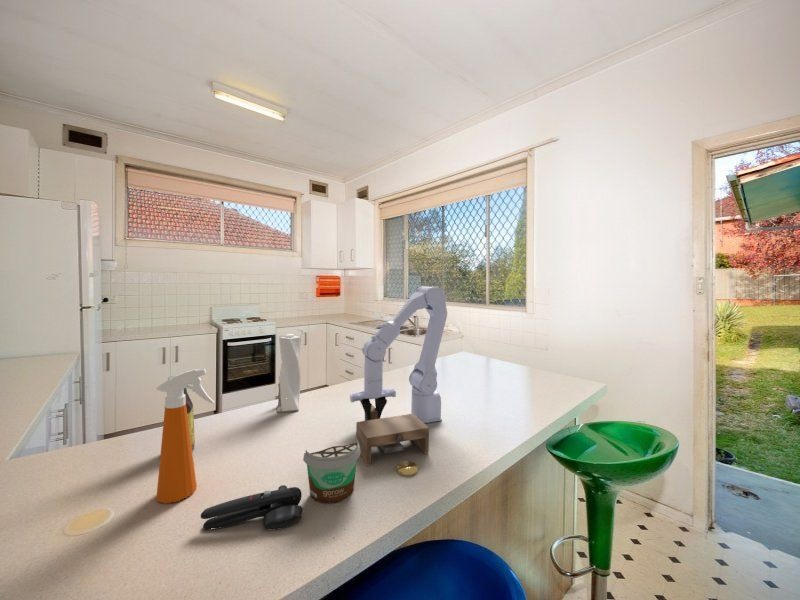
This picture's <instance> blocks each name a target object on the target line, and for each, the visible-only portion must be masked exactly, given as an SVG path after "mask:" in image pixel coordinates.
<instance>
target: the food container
mask: <svg viewBox="0 0 800 600" xmlns="http://www.w3.org/2000/svg"><path fill="white" fill-rule="evenodd" d="M360 453H361V451H360V446H359V443H358V440H357V439H355V443H350V444H346V445H336V446H331V447H328V448H325V449H322V450H319V451H315V452H309V451H308V450H307V449H305V452H304V454H303V459H302V460H303V462H304V463H305V464H306V467H307V468H306V469H307V479H308V487H309V495H310V497H311V499H312V500H314V501H315V502H318V503H321V504H329V505H331V504H338V503H340V502H343V501H345V500H347V499H348V498H349V497H350V496H351V495H352V494H353V492H354V490H355V478H356V471H357V462H358V459H359V458H360V456H361V455H360Z"/></svg>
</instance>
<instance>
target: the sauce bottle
mask: <svg viewBox="0 0 800 600" xmlns="http://www.w3.org/2000/svg"><path fill="white" fill-rule="evenodd" d="M174 376H175V375H172V376H170V377H168V378H167V380H168V379H170V378H172V377H174ZM184 394H185V396H186V408H187V416H188V424H189V431H190V439H191V446H192V451H193V450H194V449H195V442H196V441H195V439H196V437H195V422H194V421H195V418H194V404H193V402H192V399H191V398H190V396H189V393H188V388H185V389H184Z"/></svg>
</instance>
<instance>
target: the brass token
mask: <svg viewBox="0 0 800 600" xmlns="http://www.w3.org/2000/svg"><path fill="white" fill-rule="evenodd" d="M418 471H419V470H418V465H417V463H416V462H413V461H412V460H411V461H410V460H404V461H400V462H398V463H397V465H396V472H397V474H398V475H400V476H403V477H413V476H415V475H416V474H417V473H418Z"/></svg>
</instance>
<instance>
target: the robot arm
mask: <svg viewBox="0 0 800 600" xmlns="http://www.w3.org/2000/svg"><path fill="white" fill-rule="evenodd" d="M446 299H447V295H446V293H444V291H443V290H442V288H441V287H439V286H426V285H422V286H420V287H418V288H417V289H416V290H415V291H414V292H413V293H412V294H411V295H410V297H409V299H408V300H407V301H406V303H405V304H404V305H403V306H402V307H401V309H400V310H399V311H398V312H397V314H396V315H395V317H394V318H393V319H392V320H388V321H387V320H386V321H385V323H384V322H382V323H381V324H380V328H379V330H378V331H377V332H376V333H375V334H374V335H371V337H370V339H368V340H367V341H365V343H364V344H363V348H361V351H362V354H363V355H364V365H363V367H364V369H363V370H364V372H363V374H364V376H363V377H364V380H363V386H364V387H363V391H359V392H355V393H350V394H349V401H350V403H355V402H358V401H359V402H360V404H361V406H362V409H363V411H364V417H365V416H366V421H367V420H371V415H370V413H371V405H373V404H372V402H371V401H370V400H374V403H375V404H374V407H375V408H376V409H377V410H378V419H381V416H382V414H383V410H384V408H385V407H386V405H387V402H388V399H386V398H391V397H392V398H396V397H397V391H396V390H395V389H394V388H392V389H383V384H384V383H383V379H384V378H383V374H384V373H383V372H384V367H383V366H384V363H383V359H384V358H385V357H386V353H387V349H388V348H389V347H390V346H391V345H392V344H393V342H395V340H396V339H397V337H399V335H400V334H401V327H402V326H403V325H404V324H405V323H407V321H408V320H409V319H410V318H411V317H412V316H413V315H414V314H415V312H417V311H418V310H423V309H425V311H426V312H427V313H428V315H429V320H428V324H427V328H426V331H425V336H424V339H423V340H424V341H423V344H422V348H421V352H420V357H419V360H418V361H417V363H415V364H414V367H413V370H412V371H411V372H410V374H409V378H408V381H409V384H410V385H411V387H412V388H411V409H410V411H411V413H410V414H414V415H415V416H416V417H418V418H419V419H420V420H421V421H422V422H423V423H424V424H428V423H434V422H439V421H440V422H441V421H443V418H442V397H441V394H440V393H439V392H438V390H437V388H438V379H437V377H438V371H437V369H436V362H437V357H438V355H439V351H440V346H441V343H442V342H441V341H442V338H443V333H444V329H445V325H446V322H447V317H448V310H447V309H448V308H447V302H446Z"/></svg>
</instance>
